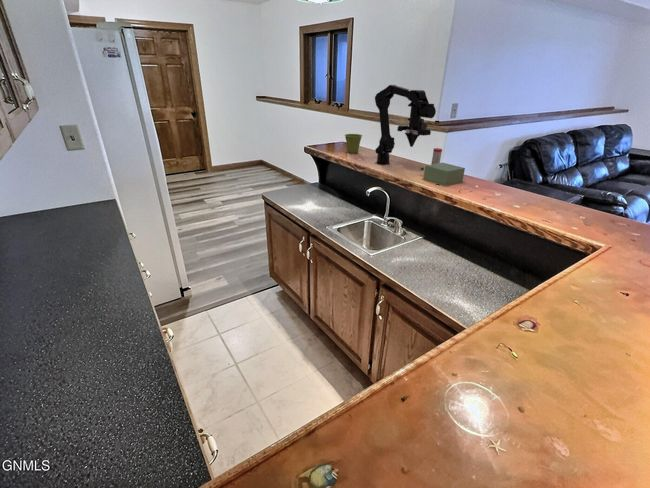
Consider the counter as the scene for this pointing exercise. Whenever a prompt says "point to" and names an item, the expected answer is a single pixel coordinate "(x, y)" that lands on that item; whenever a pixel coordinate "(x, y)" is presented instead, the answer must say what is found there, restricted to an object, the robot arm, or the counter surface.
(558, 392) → the counter surface
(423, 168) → the drawer
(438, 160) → the canister
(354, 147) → the plant pot
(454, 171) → the cabinet
